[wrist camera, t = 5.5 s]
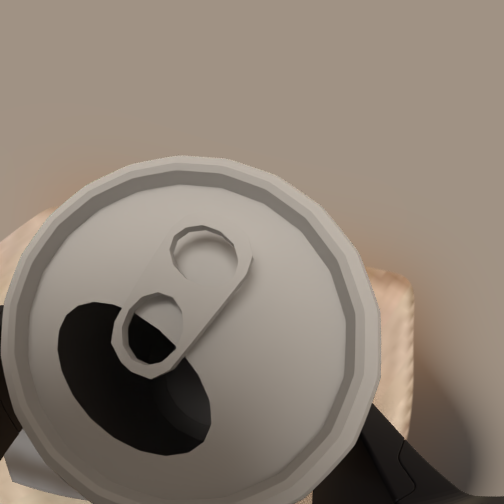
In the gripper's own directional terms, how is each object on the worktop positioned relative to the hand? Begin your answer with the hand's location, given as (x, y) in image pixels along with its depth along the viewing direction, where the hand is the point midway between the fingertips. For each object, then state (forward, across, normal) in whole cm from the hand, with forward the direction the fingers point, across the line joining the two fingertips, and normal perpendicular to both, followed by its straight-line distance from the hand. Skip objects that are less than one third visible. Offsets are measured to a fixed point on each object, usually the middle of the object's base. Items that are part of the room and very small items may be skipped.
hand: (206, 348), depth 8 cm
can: (+5, 0, +5) cm, 7 cm away
